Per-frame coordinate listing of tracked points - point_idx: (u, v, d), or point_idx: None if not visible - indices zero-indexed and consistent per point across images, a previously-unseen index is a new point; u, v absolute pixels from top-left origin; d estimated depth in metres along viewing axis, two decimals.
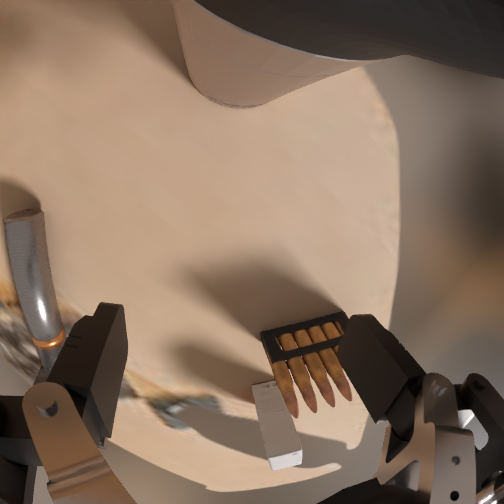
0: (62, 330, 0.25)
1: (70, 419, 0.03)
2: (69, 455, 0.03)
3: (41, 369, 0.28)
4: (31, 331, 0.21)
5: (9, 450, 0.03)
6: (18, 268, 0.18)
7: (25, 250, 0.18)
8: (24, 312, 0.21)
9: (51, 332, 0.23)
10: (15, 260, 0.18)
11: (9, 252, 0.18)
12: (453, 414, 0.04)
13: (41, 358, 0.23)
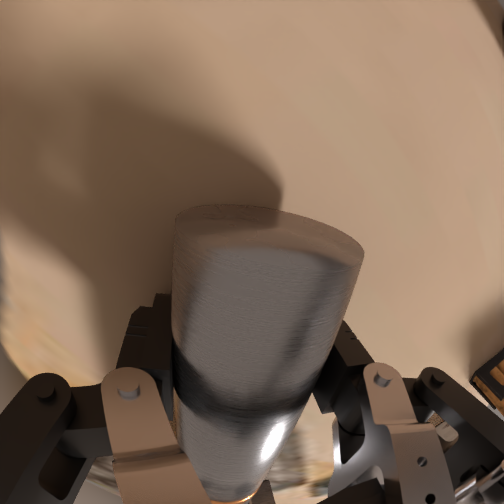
0: None
1: (158, 399, 0.05)
2: (142, 438, 0.04)
3: None
4: (214, 495, 0.09)
5: (69, 445, 0.04)
6: (262, 418, 0.06)
7: (319, 360, 0.06)
8: (212, 479, 0.08)
9: (262, 481, 0.10)
10: (260, 400, 0.06)
11: (225, 378, 0.06)
12: (394, 408, 0.05)
13: None
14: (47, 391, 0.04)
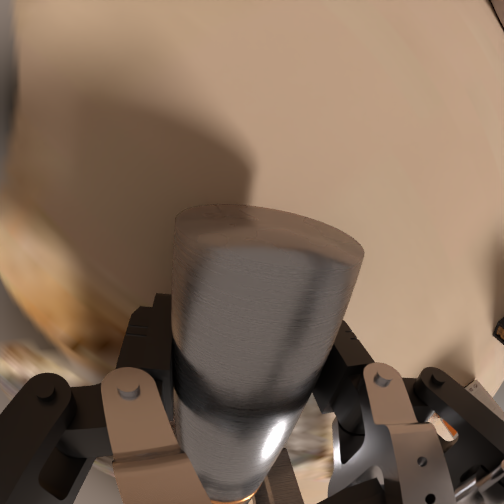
0: None
1: (158, 399, 0.05)
2: (142, 439, 0.04)
3: None
4: (214, 495, 0.09)
5: (69, 445, 0.04)
6: (262, 417, 0.06)
7: (319, 360, 0.06)
8: (212, 479, 0.08)
9: (262, 481, 0.10)
10: (260, 401, 0.06)
11: (225, 378, 0.06)
12: (394, 408, 0.05)
13: None
14: (47, 391, 0.04)
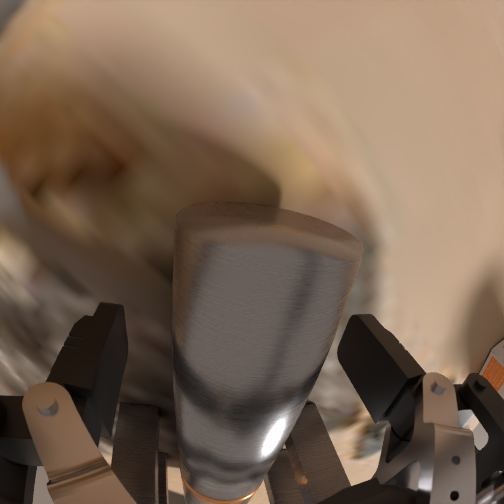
0: None
1: (70, 419, 0.03)
2: (69, 455, 0.03)
3: (122, 417, 0.10)
4: (214, 494, 0.09)
5: (9, 450, 0.03)
6: (261, 414, 0.06)
7: (318, 357, 0.06)
8: (212, 477, 0.08)
9: (262, 480, 0.10)
10: (260, 397, 0.06)
11: (224, 373, 0.06)
12: (453, 414, 0.04)
13: None
14: None
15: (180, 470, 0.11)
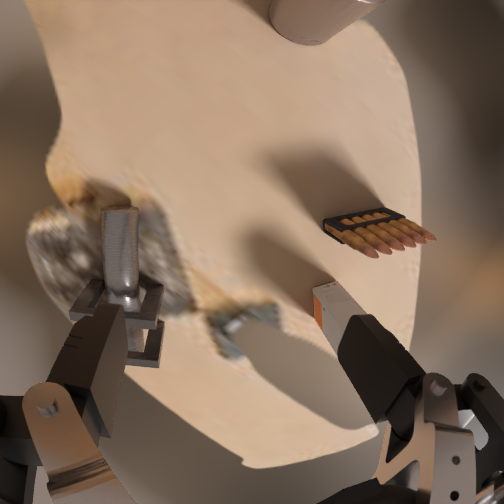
0: (140, 309, 0.34)
1: (70, 419, 0.03)
2: (69, 455, 0.03)
3: (90, 282, 0.32)
4: None
5: (9, 450, 0.03)
6: (115, 251, 0.28)
7: (125, 235, 0.28)
8: (111, 292, 0.30)
9: (134, 310, 0.32)
10: (113, 244, 0.28)
11: (106, 238, 0.28)
12: (453, 414, 0.04)
13: None
14: None
15: None
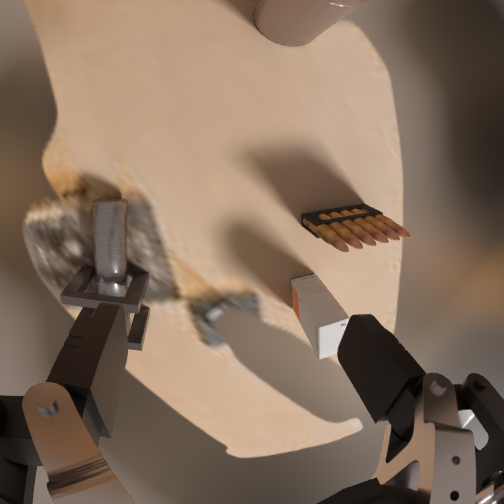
0: None
1: (70, 419, 0.03)
2: (69, 455, 0.03)
3: (81, 269, 0.34)
4: None
5: (9, 450, 0.03)
6: (106, 240, 0.30)
7: (115, 225, 0.30)
8: (101, 279, 0.32)
9: (123, 295, 0.34)
10: (104, 234, 0.30)
11: (98, 228, 0.29)
12: (453, 414, 0.04)
13: None
14: None
15: None
